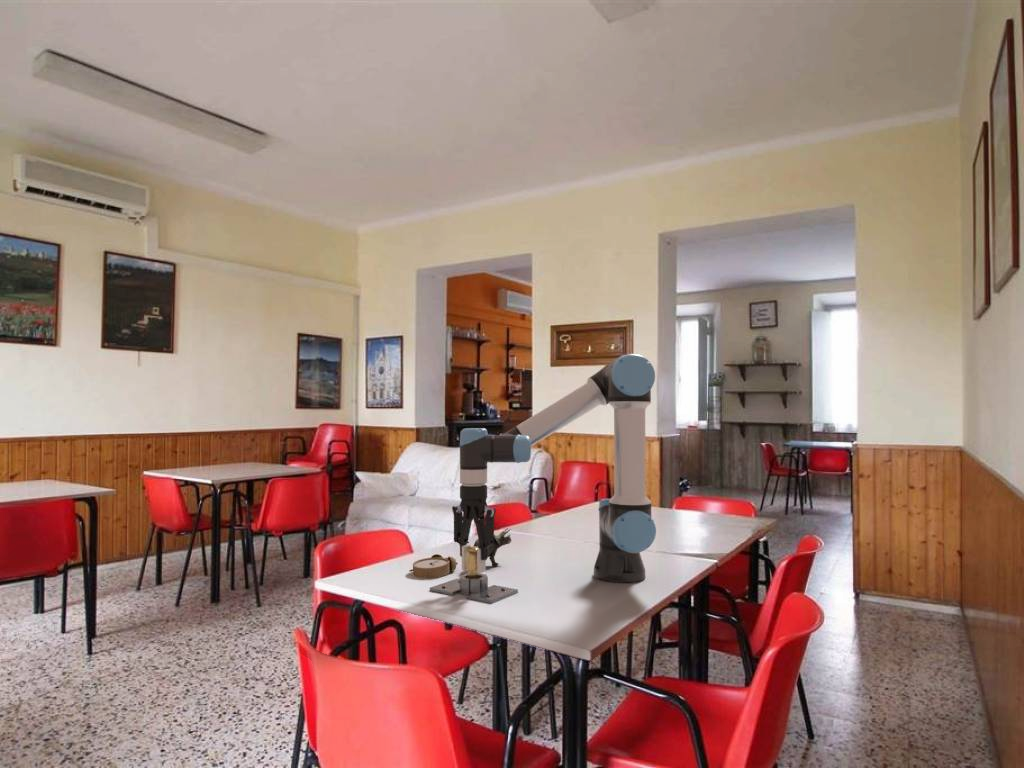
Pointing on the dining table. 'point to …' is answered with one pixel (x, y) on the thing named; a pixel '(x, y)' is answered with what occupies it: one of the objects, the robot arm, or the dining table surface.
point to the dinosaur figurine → (496, 545)
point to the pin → (472, 563)
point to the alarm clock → (433, 566)
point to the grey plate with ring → (474, 589)
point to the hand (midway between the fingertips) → (473, 570)
